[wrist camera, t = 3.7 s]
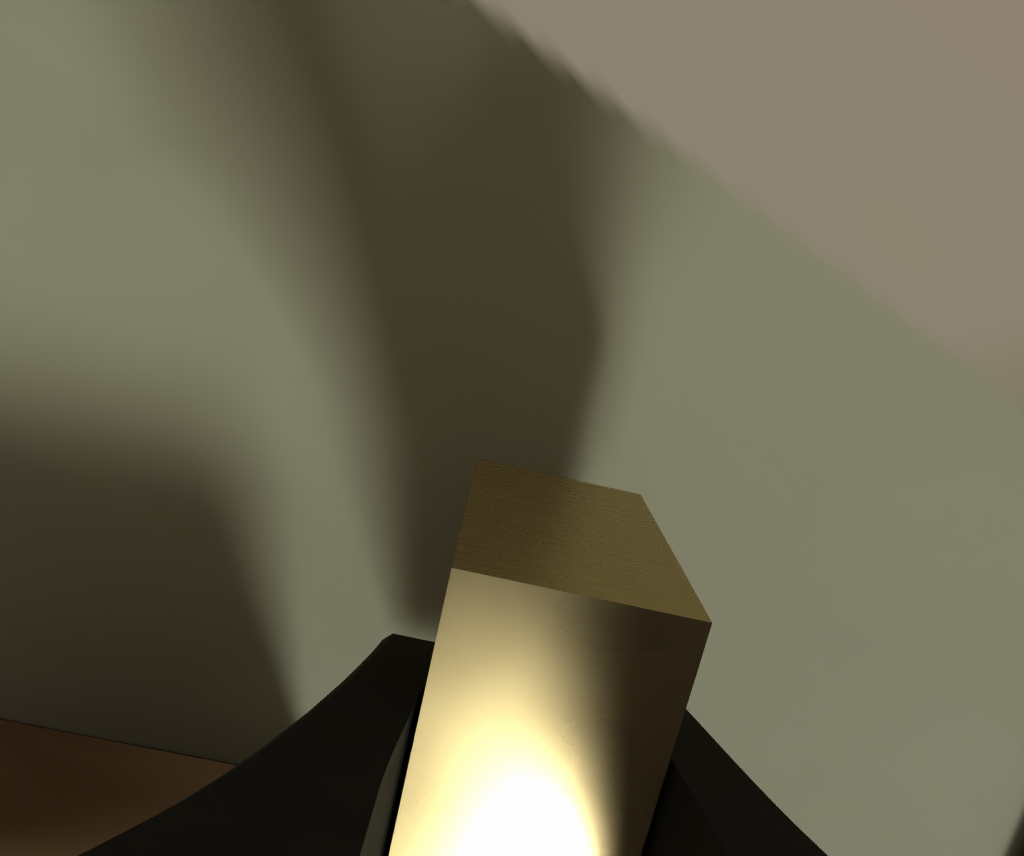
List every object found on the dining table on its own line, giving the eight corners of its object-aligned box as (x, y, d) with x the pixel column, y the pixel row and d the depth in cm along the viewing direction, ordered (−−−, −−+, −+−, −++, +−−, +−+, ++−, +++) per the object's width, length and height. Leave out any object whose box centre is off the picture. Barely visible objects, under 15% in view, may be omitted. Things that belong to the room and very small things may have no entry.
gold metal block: (640, 494, 11) (711, 622, 7) (549, 831, 12) (563, 1105, 8) (476, 459, 10) (451, 567, 7) (401, 801, 12) (343, 1065, 8)
